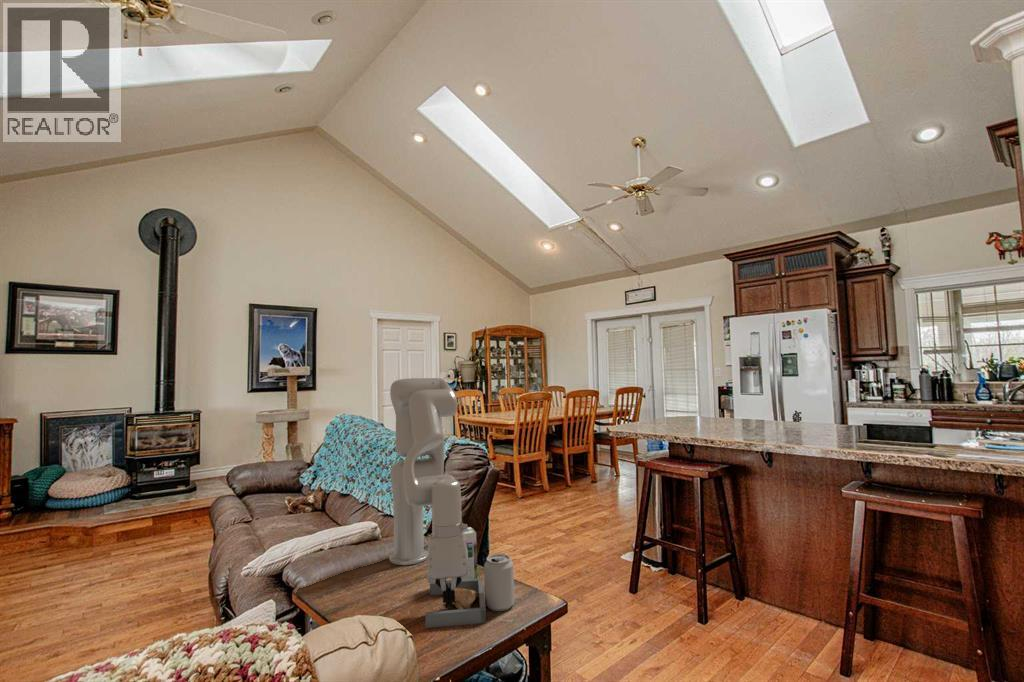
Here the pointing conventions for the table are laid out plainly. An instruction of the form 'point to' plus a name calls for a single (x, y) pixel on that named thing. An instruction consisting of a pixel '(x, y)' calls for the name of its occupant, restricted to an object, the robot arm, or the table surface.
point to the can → (499, 582)
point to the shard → (464, 598)
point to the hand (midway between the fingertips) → (449, 604)
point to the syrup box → (471, 552)
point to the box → (462, 614)
